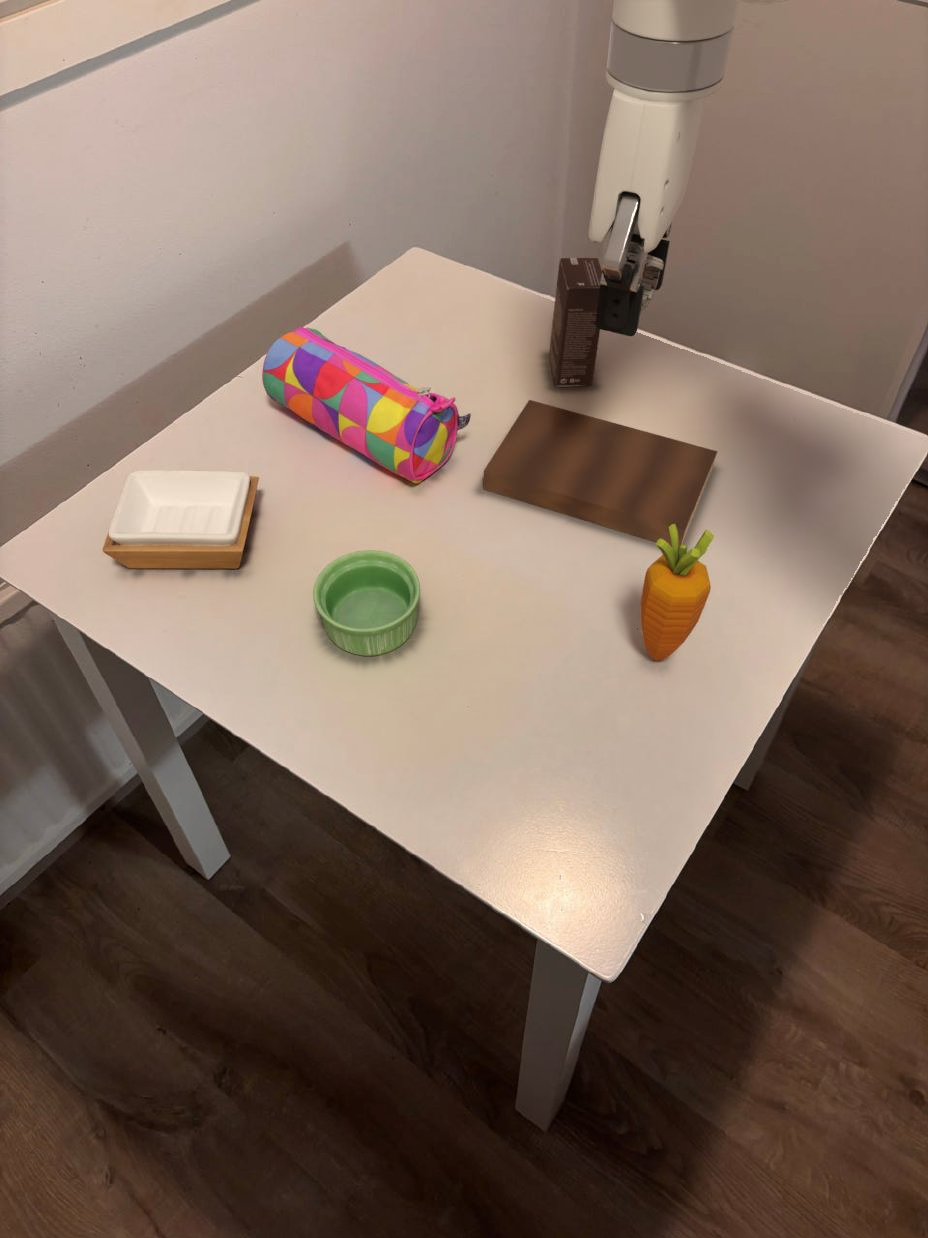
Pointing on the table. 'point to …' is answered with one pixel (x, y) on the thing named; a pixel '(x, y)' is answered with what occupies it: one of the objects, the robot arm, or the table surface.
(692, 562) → the carrot
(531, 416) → the cutting board
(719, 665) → the table surface
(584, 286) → the box
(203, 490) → the soap dish
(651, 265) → the wristwatch
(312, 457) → the table surface
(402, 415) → the pencil case
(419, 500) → the table surface
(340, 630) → the ramekin
